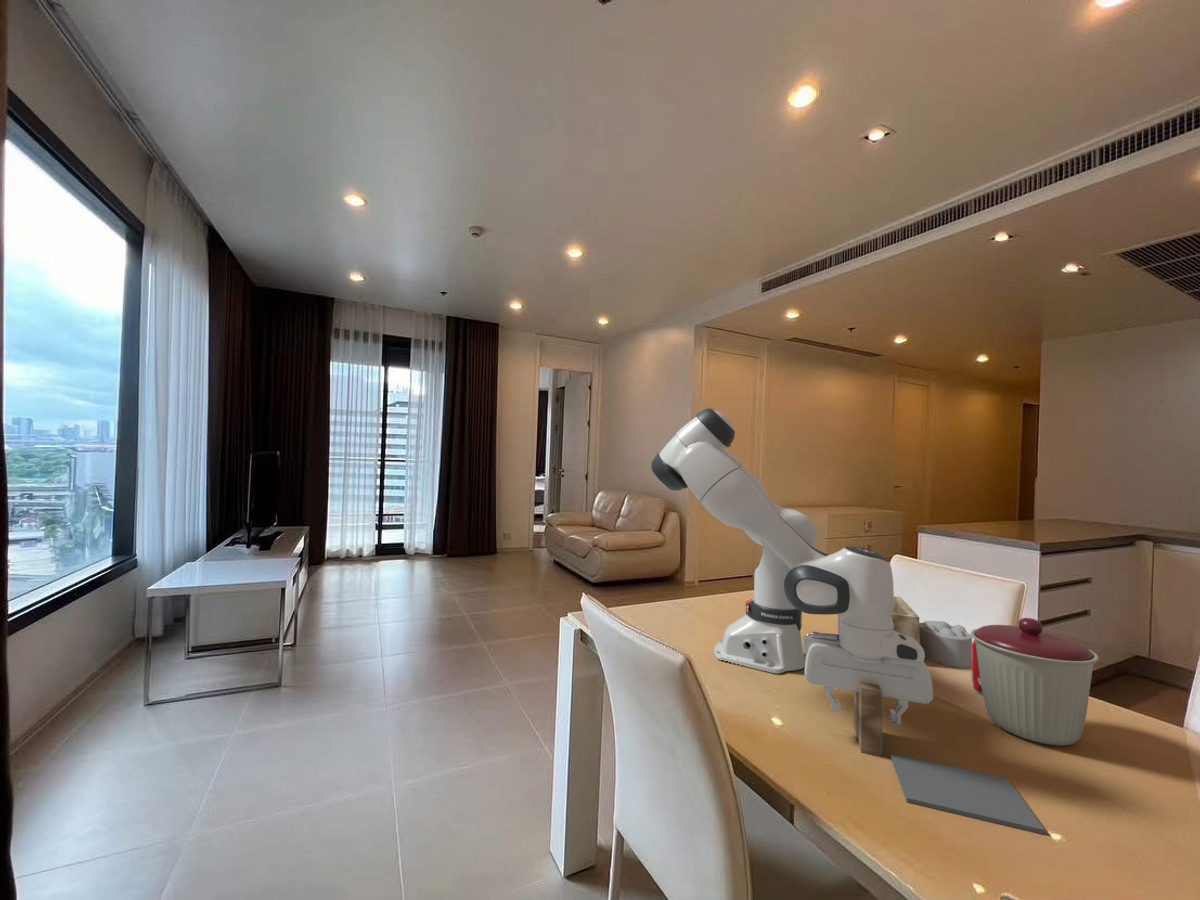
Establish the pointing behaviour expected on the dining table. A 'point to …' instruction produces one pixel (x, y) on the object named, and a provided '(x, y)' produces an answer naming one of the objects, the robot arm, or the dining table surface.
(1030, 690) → the canister
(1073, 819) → the dining table surface
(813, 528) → the robot arm
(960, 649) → the lumpy-topped squat cylinder
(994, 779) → the rubber mat
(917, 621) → the birch crate
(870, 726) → the walnut slab
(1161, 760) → the dining table surface
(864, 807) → the dining table surface
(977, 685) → the soda can
